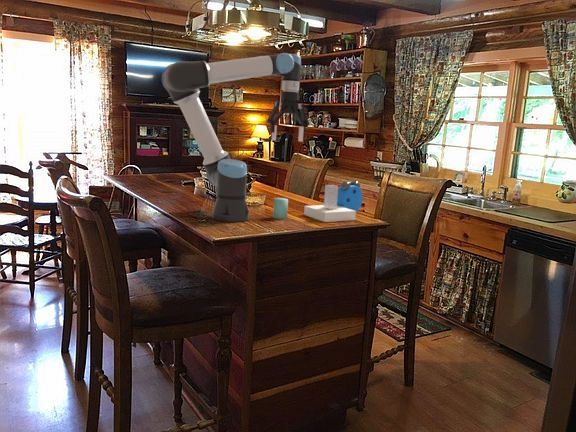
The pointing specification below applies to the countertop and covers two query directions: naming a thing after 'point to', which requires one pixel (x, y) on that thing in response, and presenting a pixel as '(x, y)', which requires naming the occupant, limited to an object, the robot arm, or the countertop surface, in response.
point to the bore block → (329, 213)
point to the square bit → (330, 197)
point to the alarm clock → (350, 195)
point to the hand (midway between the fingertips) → (287, 140)
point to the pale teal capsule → (280, 208)
